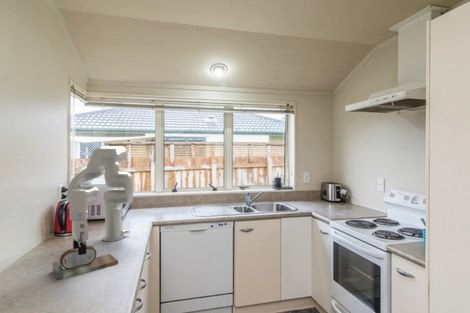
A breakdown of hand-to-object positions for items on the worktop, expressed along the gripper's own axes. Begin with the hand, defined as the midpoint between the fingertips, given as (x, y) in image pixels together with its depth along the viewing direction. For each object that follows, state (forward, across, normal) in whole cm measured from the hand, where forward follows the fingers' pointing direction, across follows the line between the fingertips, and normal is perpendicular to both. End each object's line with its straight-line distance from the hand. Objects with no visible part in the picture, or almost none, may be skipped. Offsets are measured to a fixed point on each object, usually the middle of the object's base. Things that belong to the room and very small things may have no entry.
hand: (79, 251), depth 125 cm
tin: (+7, -1, +1) cm, 7 cm away
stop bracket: (+8, -1, +9) cm, 12 cm away
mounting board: (+8, -1, -4) cm, 9 cm away
